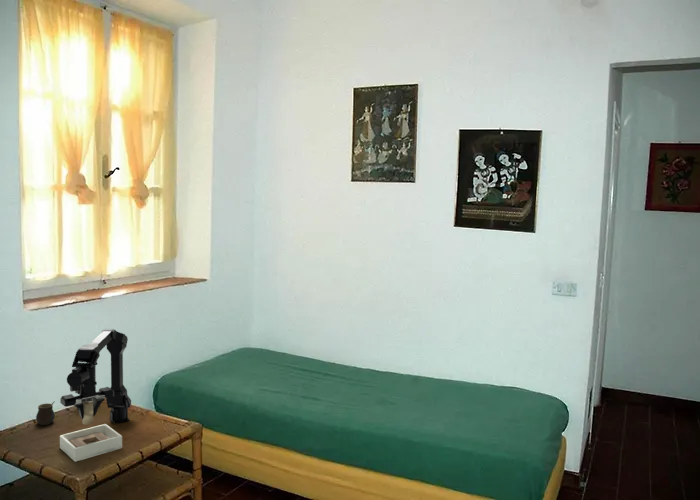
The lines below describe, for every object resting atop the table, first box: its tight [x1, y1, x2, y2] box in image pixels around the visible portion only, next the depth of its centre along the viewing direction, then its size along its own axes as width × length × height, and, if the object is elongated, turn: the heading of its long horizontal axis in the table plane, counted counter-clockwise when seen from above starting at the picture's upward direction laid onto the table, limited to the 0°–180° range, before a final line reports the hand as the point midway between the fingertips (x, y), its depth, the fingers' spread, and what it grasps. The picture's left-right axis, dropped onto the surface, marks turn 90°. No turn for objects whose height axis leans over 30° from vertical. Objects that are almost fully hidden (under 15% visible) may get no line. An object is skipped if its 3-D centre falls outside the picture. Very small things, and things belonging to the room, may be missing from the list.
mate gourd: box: [35, 401, 56, 426], centre depth 251 cm, size 7×8×10 cm
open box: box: [59, 423, 123, 462], centre depth 229 cm, size 18×16×5 cm
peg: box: [81, 400, 95, 425], centre depth 229 cm, size 4×4×8 cm
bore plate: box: [70, 432, 109, 448], centre depth 229 cm, size 12×12×2 cm
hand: (87, 417), depth 229 cm, fingers closed on peg, 4 cm apart
